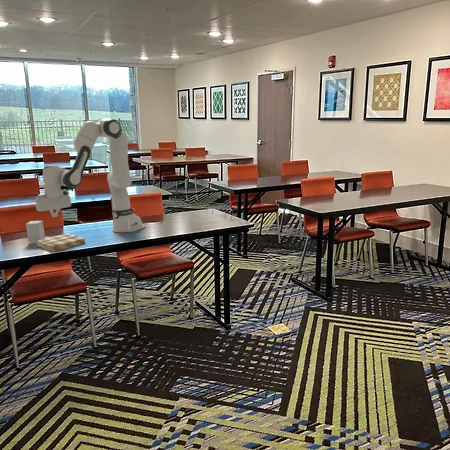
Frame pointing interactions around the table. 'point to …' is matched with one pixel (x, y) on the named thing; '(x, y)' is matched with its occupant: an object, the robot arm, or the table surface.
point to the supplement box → (35, 231)
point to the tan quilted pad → (53, 239)
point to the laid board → (65, 243)
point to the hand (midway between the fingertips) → (55, 216)
